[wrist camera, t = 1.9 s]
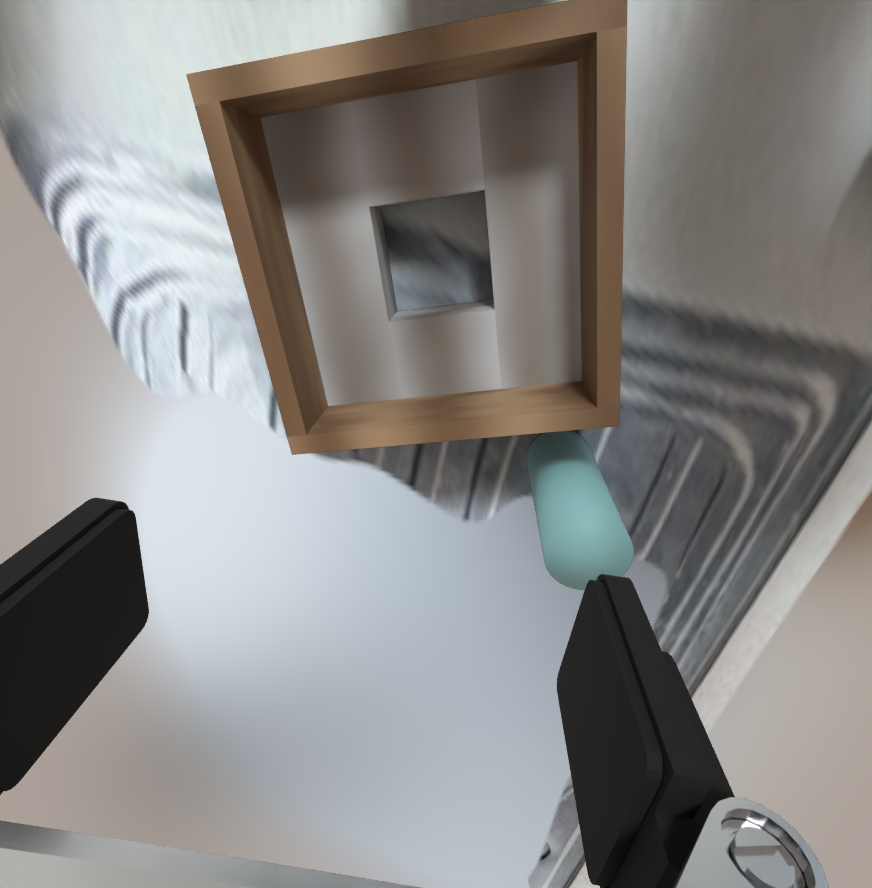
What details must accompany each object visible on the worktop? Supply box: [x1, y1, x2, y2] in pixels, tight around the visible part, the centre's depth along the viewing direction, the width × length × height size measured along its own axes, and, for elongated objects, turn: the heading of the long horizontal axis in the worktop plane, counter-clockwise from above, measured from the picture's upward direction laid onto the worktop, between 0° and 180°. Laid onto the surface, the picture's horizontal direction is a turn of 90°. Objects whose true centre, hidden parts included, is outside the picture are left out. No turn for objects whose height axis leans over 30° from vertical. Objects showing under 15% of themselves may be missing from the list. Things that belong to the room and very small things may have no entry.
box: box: [186, 0, 627, 455], centre depth 25 cm, size 16×16×7 cm
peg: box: [527, 430, 634, 590], centre depth 28 cm, size 4×4×10 cm
